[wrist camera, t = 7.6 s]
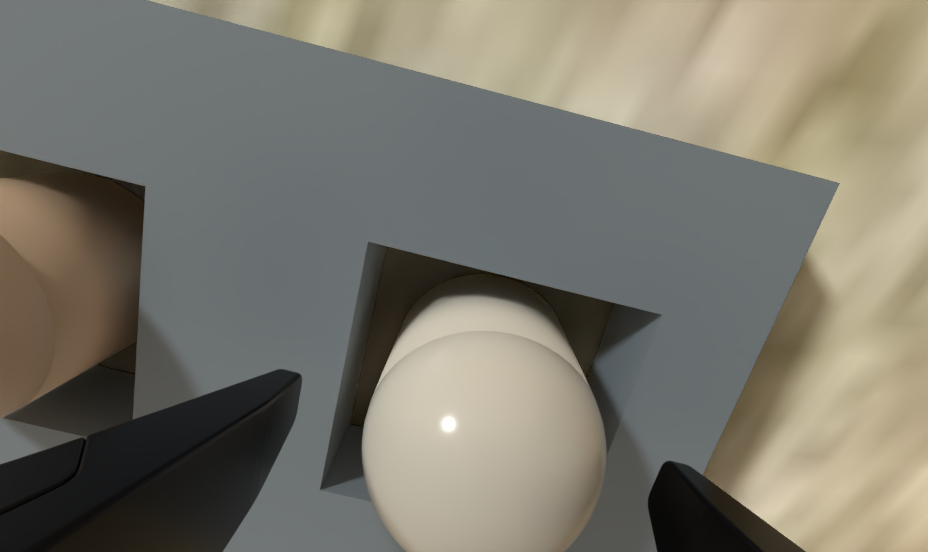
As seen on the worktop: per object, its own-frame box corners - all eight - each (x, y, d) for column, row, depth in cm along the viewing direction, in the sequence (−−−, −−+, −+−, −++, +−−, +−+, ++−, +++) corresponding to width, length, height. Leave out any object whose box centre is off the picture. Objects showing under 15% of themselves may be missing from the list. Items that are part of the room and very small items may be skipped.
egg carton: (757, 174, 11) (1069, 209, 5) (590, 572, 14) (666, 861, 8) (-137, -61, 10) (-952, -331, 4) (-89, 419, 13) (-510, 623, 8)
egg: (589, 298, 12) (692, 442, 6) (538, 444, 13) (586, 679, 7) (416, 255, 11) (359, 362, 6) (382, 408, 13) (307, 618, 7)
